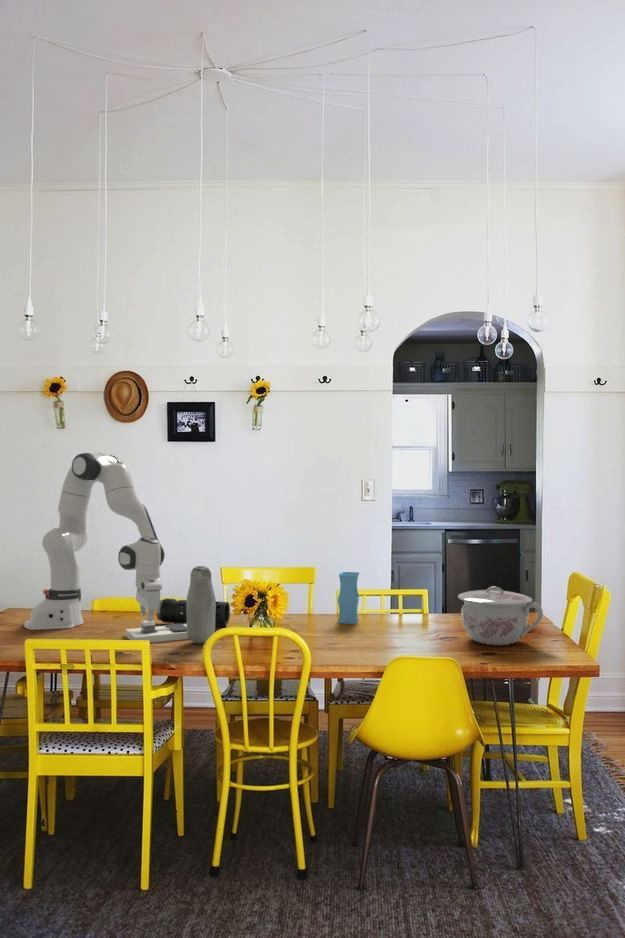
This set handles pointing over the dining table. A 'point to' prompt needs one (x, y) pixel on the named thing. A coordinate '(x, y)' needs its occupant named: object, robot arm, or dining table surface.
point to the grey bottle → (200, 606)
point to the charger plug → (148, 627)
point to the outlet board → (160, 633)
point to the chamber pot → (497, 615)
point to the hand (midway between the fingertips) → (146, 618)
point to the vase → (348, 597)
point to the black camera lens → (177, 613)
